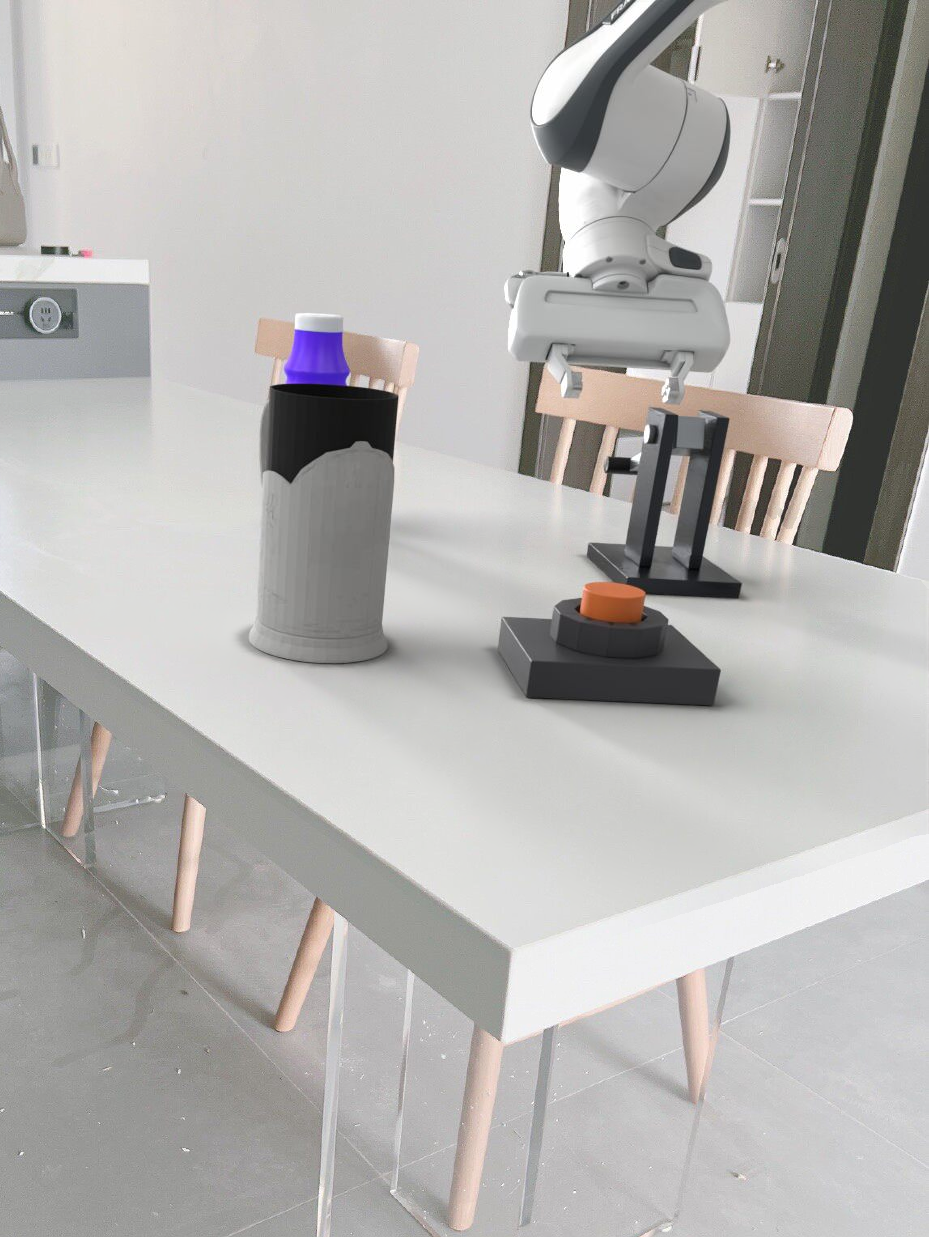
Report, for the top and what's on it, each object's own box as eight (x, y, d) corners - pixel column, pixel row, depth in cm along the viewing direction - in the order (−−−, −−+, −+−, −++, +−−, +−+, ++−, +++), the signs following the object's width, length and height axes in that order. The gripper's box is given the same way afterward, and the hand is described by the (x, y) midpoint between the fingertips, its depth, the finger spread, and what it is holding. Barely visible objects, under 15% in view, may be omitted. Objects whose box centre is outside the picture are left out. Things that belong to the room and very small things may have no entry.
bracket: (586, 556, 104) (610, 399, 99) (688, 561, 105) (718, 406, 99) (625, 592, 93) (654, 419, 88) (739, 598, 94) (775, 426, 89)
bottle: (314, 533, 105) (327, 317, 98) (259, 522, 108) (268, 311, 101) (356, 521, 111) (371, 316, 104) (303, 511, 114) (314, 311, 107)
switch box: (665, 657, 78) (677, 596, 77) (713, 706, 70) (728, 638, 68) (497, 649, 77) (505, 588, 76) (525, 697, 69) (535, 629, 68)
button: (631, 611, 74) (635, 583, 73) (648, 628, 71) (653, 599, 70) (572, 608, 74) (577, 580, 73) (587, 625, 70) (592, 596, 70)
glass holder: (283, 668, 71) (297, 399, 65) (197, 603, 83) (202, 370, 76) (412, 656, 75) (437, 401, 69) (313, 596, 86) (327, 373, 80)
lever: (602, 480, 107) (604, 452, 107) (658, 483, 107) (659, 455, 107) (657, 446, 93) (660, 414, 93) (721, 450, 93) (723, 418, 93)
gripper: (511, 244, 112) (518, 366, 107) (728, 258, 113) (744, 380, 108) (496, 294, 118) (503, 413, 113) (703, 308, 119) (717, 425, 114)
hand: (623, 397), depth 111 cm, fingers open, 8 cm apart
